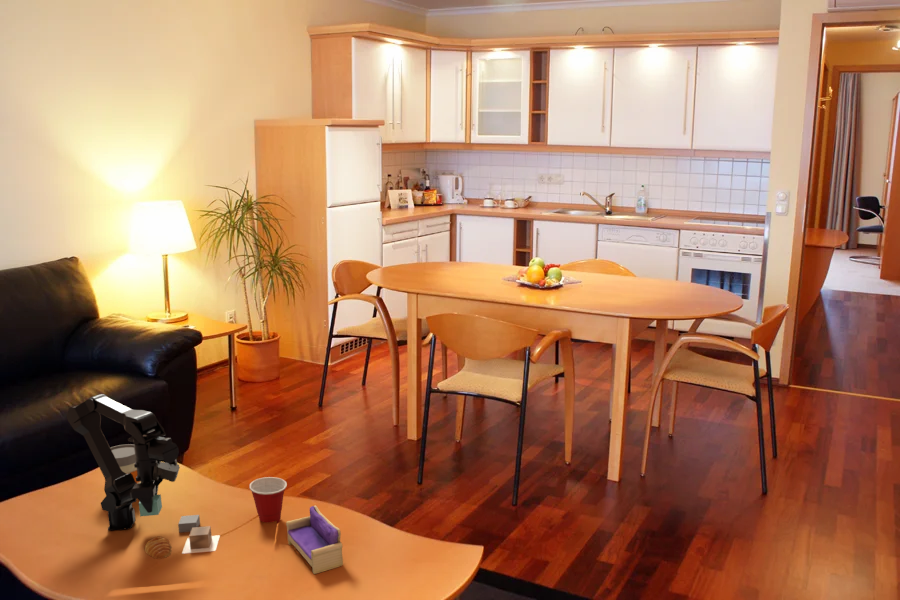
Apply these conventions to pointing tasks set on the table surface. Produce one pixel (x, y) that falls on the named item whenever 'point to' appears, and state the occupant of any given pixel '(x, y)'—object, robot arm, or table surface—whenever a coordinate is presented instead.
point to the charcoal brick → (188, 523)
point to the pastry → (158, 547)
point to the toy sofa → (316, 540)
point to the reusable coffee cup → (126, 459)
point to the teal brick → (155, 508)
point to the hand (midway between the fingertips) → (151, 508)
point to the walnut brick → (200, 537)
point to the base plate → (211, 548)
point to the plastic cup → (268, 497)
